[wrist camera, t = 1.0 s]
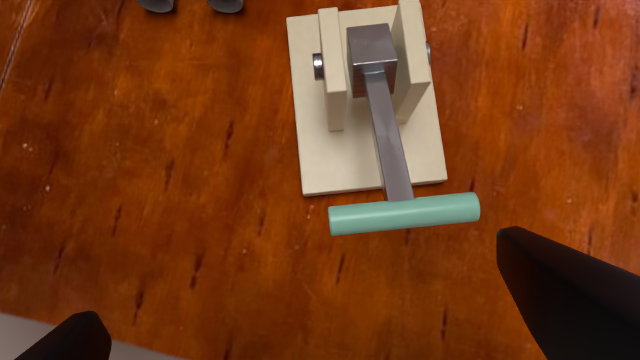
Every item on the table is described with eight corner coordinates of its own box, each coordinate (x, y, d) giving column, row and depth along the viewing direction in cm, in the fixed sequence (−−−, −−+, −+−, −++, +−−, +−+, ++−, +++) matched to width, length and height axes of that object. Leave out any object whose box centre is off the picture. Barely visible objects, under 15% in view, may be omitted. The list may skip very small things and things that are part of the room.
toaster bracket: (443, 182, 26) (488, 155, 19) (304, 196, 26) (291, 176, 19) (416, 12, 28) (448, -76, 21) (287, 26, 28) (270, -56, 21)
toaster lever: (471, 231, 17) (487, 205, 15) (331, 246, 17) (328, 222, 15) (418, 54, 23) (425, 18, 21) (313, 66, 23) (309, 30, 21)
